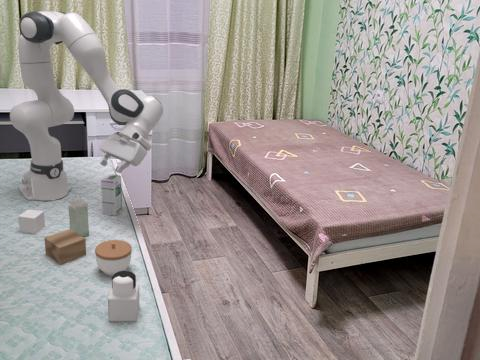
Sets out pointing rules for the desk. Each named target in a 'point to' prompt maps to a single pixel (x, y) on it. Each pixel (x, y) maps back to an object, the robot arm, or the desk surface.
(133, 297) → the medicine bottle
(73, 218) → the tea tin
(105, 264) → the lidded jar
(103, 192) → the syrup box
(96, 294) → the desk surface
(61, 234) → the walnut block
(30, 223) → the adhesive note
